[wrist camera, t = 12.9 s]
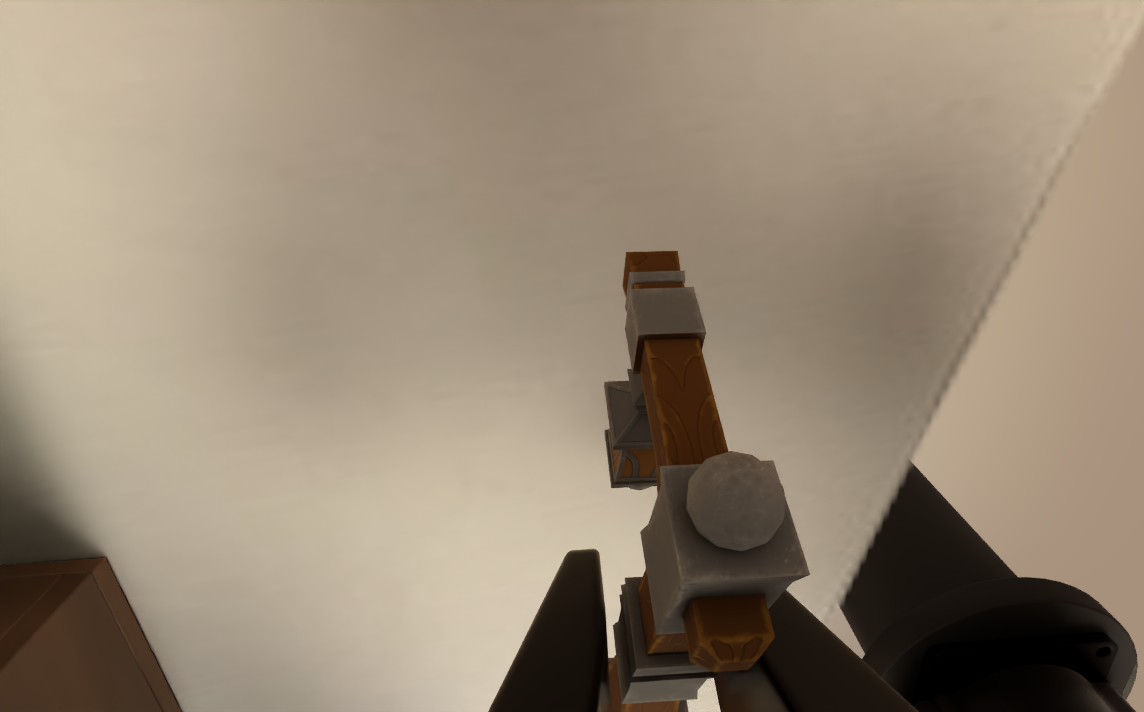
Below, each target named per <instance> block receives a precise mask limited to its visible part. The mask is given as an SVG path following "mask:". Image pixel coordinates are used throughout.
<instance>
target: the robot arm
mask: <svg viewBox="0 0 1144 712" xmlns="http://www.w3.org/2000/svg"><path fill="white" fill-rule="evenodd" d="M768 610H769V614H770V618H771V622H772V626H773V630H774V634H775V638H774V639H773V640H772V642H771V643H770V644H769V646H768V647H767V648H766V650H765V651H764V652H763V654H762V655H761V656H760V658H759V659H758V660H757V661H756V662H755V663H754V664H753V665H752V667H751V668H750V669H749V670H738V671H723V672H716V674H717V677H715V678H714V680H715V685H716V690H717V695H718V700H719V705H720V709H721V712H1136V711H1135V710H1134V709H1133V708H1132V707H1131V706H1130V704H1129V703H1128V702H1127V701H1126V700H1125V699H1124V698H1123V697H1122V696H1121V695H1120V694H1119V692H1118V691H1117V690H1116V689H1115V688H1114V687H1113V686H1112V685H1111V684H1110V683H1109V682H1108V680H1107V679H1106V677H1107V675H1108V673H1109V670H1110V668H1111V666H1112V663H1113V661H1114V659H1115V656H1116V654H1117V652H1118V645H1117V644H1116V643H1115V642H1114V641H1113V640H1112V639H1111V638H1110V637H1109V636H1108V635H1107V634H1106V633H1104V632H1092V633H1078V634H1064V635H1050V636H1036V637H1022V638H1008V639H994V640H980V641H966V642H952V643H940V644H935V645H933V646H931V647H929V648H928V649H927V650H926V651H925V653H924V656H923V660H922V665H921V669H920V673H919V677H918V681H917V685H916V689H915V693H914V697H913V702H912V704H910V703H909V702H908V701H906V700H905V699H904V698H903V697H902V696H901V695H900V694H899V693H898V692H897V691H896V690H894V689H893V688H892V687H891V686H890V685H889V684H888V683H887V682H886V681H885V680H884V679H883V678H881V677H880V676H879V675H878V674H877V673H876V672H875V671H874V670H873V669H872V668H871V667H869V666H868V665H867V664H866V663H865V662H864V661H863V660H862V659H861V658H860V657H859V656H857V655H856V654H855V653H854V652H853V651H852V650H851V649H850V648H849V647H848V646H847V645H845V644H844V643H843V642H842V641H841V640H840V639H839V638H838V637H837V636H836V635H835V634H834V633H832V632H831V631H830V630H829V629H828V628H827V627H826V626H825V625H824V624H823V623H822V622H820V621H819V620H818V619H817V618H816V617H815V616H814V615H813V614H812V613H811V612H810V611H808V610H807V609H806V608H805V607H804V606H803V605H802V604H801V603H800V602H799V601H798V600H796V599H795V598H794V597H793V596H792V595H791V594H790V593H789V592H788V591H787V590H785V591H784V592H783V593H782V594H781V595H780V597H779V598H778V599H777V600H776V601H775V602H774V603H773V604H772V606H771V607H770V608H769V609H768ZM488 712H611V699H610V682H609V665H608V648H607V631H606V614H605V603H604V594H603V584H602V575H601V565H600V556H599V552H598V551H597V550H596V549H586V550H572V551H570V552H568V553H567V554H566V556H565V558H564V560H563V562H562V564H561V566H560V568H559V570H558V572H557V574H556V576H555V578H554V580H553V582H552V584H551V586H550V588H549V590H548V592H547V594H546V596H545V598H544V600H543V602H542V604H541V606H540V608H539V610H538V612H537V614H536V616H535V618H534V620H533V622H532V625H531V627H530V629H529V631H528V633H527V635H526V637H525V639H524V641H523V643H522V645H521V647H520V649H519V651H518V653H517V655H516V657H515V659H514V661H513V663H512V665H511V667H510V669H509V671H508V673H507V675H506V677H505V679H504V681H503V683H502V685H501V687H500V689H499V691H498V693H497V695H496V697H495V699H494V701H493V703H492V705H491V707H490V709H489V711H488Z"/></svg>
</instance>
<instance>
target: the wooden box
mask: <svg viewBox="0 0 1144 712" xmlns="http://www.w3.org/2000/svg"><path fill="white" fill-rule="evenodd" d="M0 712H181V711H180V709H179V707H178V704H177V702H176V700H175V698H174V696H173V694H172V692H171V690H170V688H169V686H168V684H167V682H166V680H165V678H164V676H163V674H162V672H161V670H160V668H159V666H158V664H157V662H156V660H155V658H154V656H153V654H152V652H151V650H150V648H149V646H148V644H147V642H146V639H145V637H144V635H143V633H142V631H141V629H140V627H139V625H138V623H137V621H136V619H135V617H134V615H133V613H132V611H131V609H130V607H129V605H128V603H127V601H126V599H125V597H124V595H123V593H122V591H121V589H120V587H119V585H118V583H117V581H116V579H115V577H114V574H113V572H112V570H111V568H110V566H109V564H108V562H107V560H106V559H105V558H94V559H80V560H66V561H52V562H38V563H24V564H10V565H0Z"/></svg>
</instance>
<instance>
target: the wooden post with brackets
mask: <svg viewBox="0 0 1144 712" xmlns="http://www.w3.org/2000/svg"><path fill="white" fill-rule="evenodd" d="M684 283H685V272H684V271H680V264H679V257H678V251H655V252H626V259H625V269H624V278H623V289H624V292H625V295H626V306H625V308H626V311H627V318H626V326H625V331H626V337H627V343H628V349H629V355H630V361H631V367H632V369H627V371H628V377H629V381H612V382H605V385H604V387H605V395H606V403H607V410H608V418H609V426H610V429H609V430H605V440H606V448H607V456H608V464H609V472H610V481H611V488H623V487H629V488H631V489H636V490H642V489H646V488H649V487H651V486H657V490H658V496H657V499H656V502H655V506H654V509H653V512H652V515H651V518H650V521H649V524H648V525H647V526H646V527H645V528H644V529H643V530H642V531H641V539H642V545H643V551H644V558H645V564H646V570H645V573H644V575H643V577H632V578H625V584H624V585H621V589H622V595H620V602H621V612H620V616H619V621H618V622H617V623H615V624H614V625H613V629H614V639H615V648H616V656H615V657H614V658H608V665H609V682H610V699H611V712H688V707H687V701H686V700H690V699H697V690H698V689H699V688H700V687H701V685H702V684H703V683H704V682H705V681H706V680H707V679H710V678H715V677H717V674H716V672H723V671H738V670H749V669H750V668H751V667H752V665H753V664H754V663H755V662H756V661H757V660H758V659H759V658H760V656H761V655H762V654H763V652H764V651H765V650H766V648H767V647H768V646H769V644H770V643H771V642H772V640H773V639H774V638H775V634H774V630H773V626H772V622H771V618H770V614H769V610H768V609H769V608H770V607H771V606H772V604H773V603H774V602H775V601H776V600H777V599H778V598H779V597H780V595H781V594H782V593H783V592H784V591H785V590H786V589H787V587H788V586H789V585H790V584H791V583H792V582H794V581H796V580H798V579H801V578H803V577H806V576H808V575H810V573H809V570H808V566H807V563H806V560H805V557H804V554H803V551H802V548H801V545H800V542H799V539H798V536H797V532H796V529H795V526H794V523H793V520H792V517H791V514H790V511H789V508H788V505H787V502H786V498H785V493H784V489H783V486H782V484H781V483H780V480H779V477H778V474H777V471H776V468H775V465H774V461H760V460H759V459H757V458H756V457H754V456H753V455H749V454H743V453H738V452H732V451H730V452H728V448H727V444H726V441H725V437H724V433H723V429H722V426H721V422H720V418H719V414H718V410H717V407H716V403H715V399H714V395H713V392H712V388H711V384H710V380H709V377H708V373H707V369H706V365H705V362H704V358H703V354H702V347H703V343H704V339H705V335H706V330H705V327H704V323H703V319H702V316H701V312H700V309H699V305H698V301H697V298H696V294H695V291H694V287H685V286H684Z"/></svg>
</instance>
